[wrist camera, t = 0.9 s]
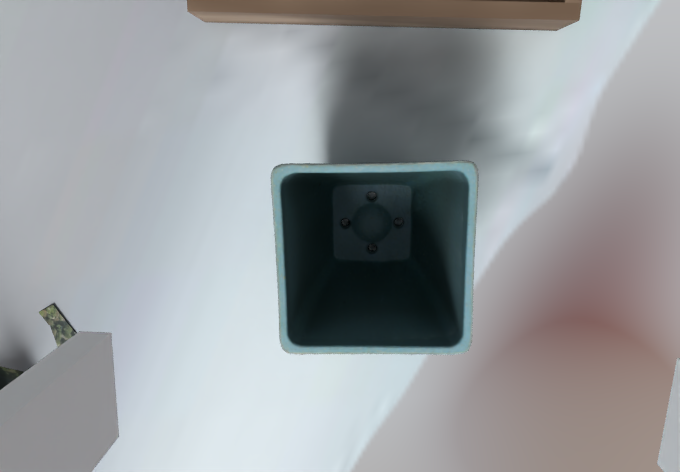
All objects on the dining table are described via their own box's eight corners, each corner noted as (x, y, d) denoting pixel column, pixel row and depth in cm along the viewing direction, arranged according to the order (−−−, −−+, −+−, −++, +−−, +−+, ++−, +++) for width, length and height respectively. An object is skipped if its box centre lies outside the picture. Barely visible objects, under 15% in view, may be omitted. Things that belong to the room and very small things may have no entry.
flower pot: (301, 291, 32) (279, 356, 23) (295, 150, 30) (269, 164, 21) (441, 290, 32) (472, 356, 23) (444, 147, 30) (479, 159, 21)
